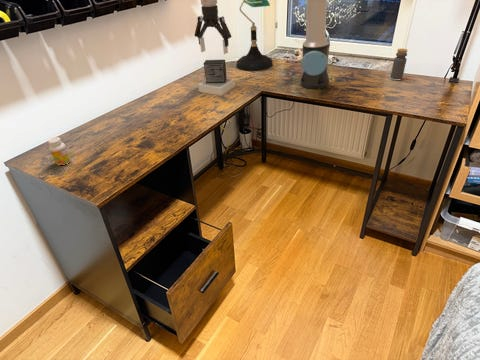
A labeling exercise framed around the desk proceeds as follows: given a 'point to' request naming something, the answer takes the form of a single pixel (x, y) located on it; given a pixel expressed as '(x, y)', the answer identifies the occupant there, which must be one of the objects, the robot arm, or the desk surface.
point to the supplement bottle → (59, 151)
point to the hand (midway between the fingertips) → (214, 52)
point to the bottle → (399, 64)
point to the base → (217, 87)
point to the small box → (215, 71)
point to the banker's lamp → (254, 45)
